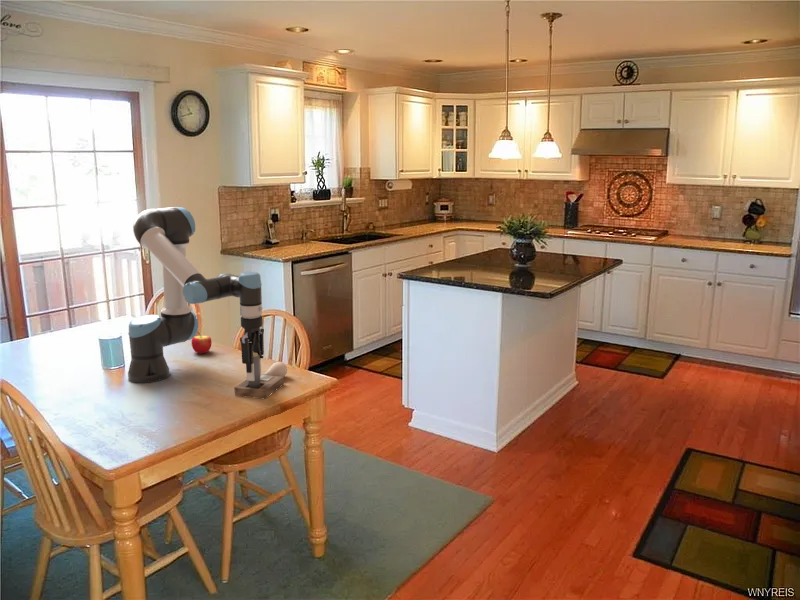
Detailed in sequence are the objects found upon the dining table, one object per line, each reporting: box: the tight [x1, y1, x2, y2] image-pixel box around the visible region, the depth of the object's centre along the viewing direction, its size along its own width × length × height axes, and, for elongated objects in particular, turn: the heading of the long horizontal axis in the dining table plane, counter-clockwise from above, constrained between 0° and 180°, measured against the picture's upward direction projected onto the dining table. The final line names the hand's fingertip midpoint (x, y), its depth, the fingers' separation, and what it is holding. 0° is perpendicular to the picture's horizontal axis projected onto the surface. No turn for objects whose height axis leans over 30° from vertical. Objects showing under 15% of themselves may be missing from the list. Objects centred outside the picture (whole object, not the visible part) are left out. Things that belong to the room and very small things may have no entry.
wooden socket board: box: [234, 374, 285, 400], centre depth 236 cm, size 12×15×3 cm
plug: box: [248, 353, 261, 389], centre depth 231 cm, size 4×4×13 cm
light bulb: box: [262, 361, 288, 378], centre depth 247 cm, size 7×7×11 cm
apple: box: [191, 331, 213, 355], centre depth 277 cm, size 8×8×10 cm
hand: (254, 377), depth 232 cm, fingers closed on plug, 4 cm apart
